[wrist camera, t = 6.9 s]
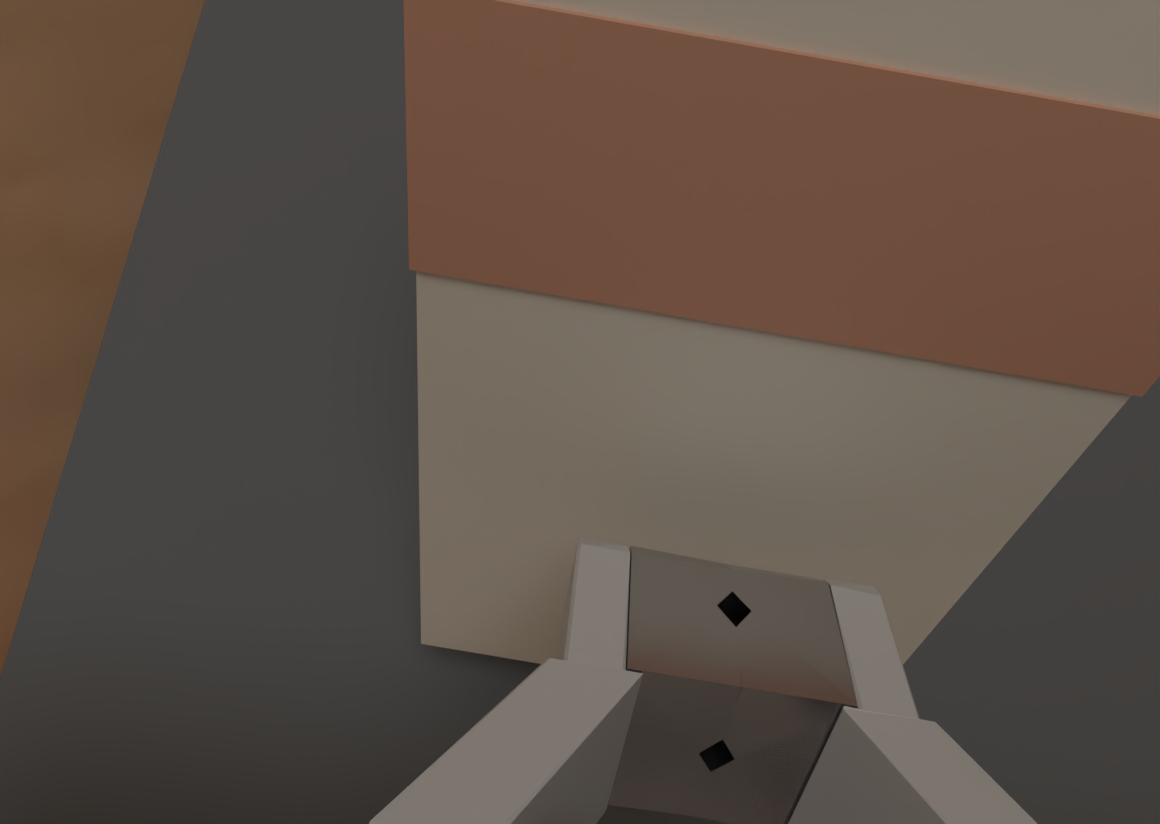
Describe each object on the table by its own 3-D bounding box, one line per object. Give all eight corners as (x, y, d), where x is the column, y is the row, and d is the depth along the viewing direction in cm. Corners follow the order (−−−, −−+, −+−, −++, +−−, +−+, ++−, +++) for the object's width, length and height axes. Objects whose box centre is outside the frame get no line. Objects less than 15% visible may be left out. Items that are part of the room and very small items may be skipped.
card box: (845, 574, 14) (1496, -437, 6) (861, 720, 13) (1838, -409, 4) (454, 507, 14) (494, -625, 6) (417, 646, 13) (388, -682, 4)
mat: (1195, -83, 18) (1217, -106, 18) (1190, 1119, 13) (1220, 1143, 13) (295, -246, 18) (288, -275, 17) (-50, 918, 13) (-77, 934, 12)
